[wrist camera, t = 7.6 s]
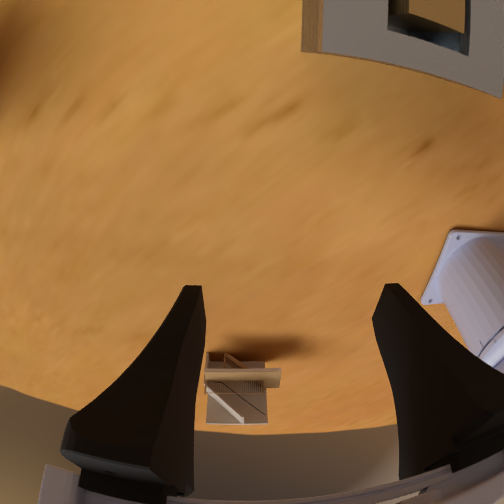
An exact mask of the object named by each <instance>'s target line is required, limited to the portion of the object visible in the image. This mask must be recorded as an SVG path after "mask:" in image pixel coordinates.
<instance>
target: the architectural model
mask: <svg viewBox="0 0 504 504" xmlns="http://www.w3.org/2000/svg"><path fill="white" fill-rule="evenodd" d="M204 373H205V374H204V386H205V392H204V394H206V393H208V402H207V417H206V424H228V425H251V424H268V418H267V398H266V388H279V385H280V378H281V368H265V361H250V362H240V361H238V360H237V359H235V358H234V357H233V356H231V355H230V354H229V353H224V362H217V361H210V356H209V352H206V363H205V369H204Z"/></svg>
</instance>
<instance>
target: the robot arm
mask: <svg viewBox="0 0 504 504" xmlns="http://www.w3.org/2000/svg"><path fill="white" fill-rule="evenodd" d="M458 235H459V236H458ZM457 236H458V237H457ZM421 303H422V304H423V305H427V304H438V303H444V304H445V306H446V307H447V309H448V311H449V313H450V315H451V316H452V318H453V320H454V322H455V324H456V326H457V328H458V330H459V332H460V334H461V336H462V338H463V340H464V342H465V344H466V346H467V348H468V350H467V349H466V348H465V347H464V346H463V345H461V344H460V343H459V342H458V341H456V340H455V339H454V338H453V337H452V336H451V335H450V334H449V333H448V332H447V331H446V330H444V329H443V328H442V327H441V326H440V325H439V324H438V323H437V322H436V321H435V320H434V319H433V318H432V317H431V316H430V315H429V314H428V313H427V312H426V311H425V310H424V309H423V308H422V307H421V306H420V305H419V303H418V302H417V301H416V300H415V299H414V298H413V297H412V296H411V295H410V294H409V293H408V292H407V291H406V290H405V289H404V288H403V287H402V286H401V285H400V284H398V283H391V284H385V286H384V288H383V291H382V294H381V296H380V299H379V302H378V304H377V307H376V309H375V312H374V314H373V317H372V321H373V327H374V332H375V336H376V341H377V344H378V347H379V350H380V353H381V356H382V359H383V362H384V365H385V368H386V371H387V375H388V378H389V381H390V384H391V388H392V392H393V397H394V403H395V409H396V417H397V425H398V436H399V481H396V482H392V483H388V484H384V485H379V486H376V487H371V488H366V489H361V490H356V491H351V492H345V493H339V494H333V495H326V496H318V497H310V498H300V499H289V500H288V499H287V500H270V501H220V500H202V499H191V498H181V497H185V496H188V495H189V494H191V493H192V492H193V491H194V461H193V460H194V420H195V402H196V394H197V388H198V382H199V376H200V370H201V364H202V359H203V353H204V347H205V334H206V317H205V309H204V301H203V293H202V286H197V285H185V286H184V287H183V289H182V291H181V293H180V294H179V296H178V298H177V300H176V302H175V303H174V305H173V307H172V309H171V310H170V312H169V314H168V315H167V317H166V318H165V320H164V321H163V323H162V324H161V326H160V327H159V329H158V330H157V332H156V333H155V335H154V336H153V337H152V339H151V340H150V341H149V343H148V344H147V346H146V347H145V348H144V349H143V351H142V352H141V353H140V354H139V356H138V357H137V358H136V359H135V360H134V361H133V363H132V364H131V365H130V366H129V367H128V368H127V369H126V370H125V371H124V372H123V373H122V374H121V376H120V377H119V378H118V379H117V380H116V381H115V382H113V383H112V384H111V385H110V386H109V387H108V388H107V389H106V390H105V391H103V392H102V393H101V394H100V395H99V396H98V397H97V398H96V399H94V400H93V401H92V402H91V403H89V404H88V405H87V406H85V407H84V408H83V409H81V410H80V411H78V412H77V413H76V414H74V415H73V416H72V417H70V419H69V421H68V424H67V426H66V429H65V432H64V436H63V440H62V444H61V448H60V452H61V454H62V455H63V456H64V457H65V458H66V459H68V460H69V461H71V462H73V463H74V464H76V465H77V466H79V467H80V468H82V470H81V474H80V475H79V474H77V473H75V472H71V471H69V470H66V469H63V468H60V467H57V466H54V465H51V464H48V463H47V464H46V466H45V470H44V474H43V479H42V484H41V489H40V494H39V500H38V504H375V503H379V502H383V501H387V500H391V499H394V498H398V497H401V496H405V495H408V494H411V493H414V492H418V491H420V492H419V494H418V496H415V497H412V498H409V499H406V500H403V501H401V502H399V503H396V504H493V503H495V502H496V501H498V500H499V499H501V498H502V497H504V232H489V231H472V230H452V231H450V232H449V234H448V237H447V239H446V242H445V244H444V247H443V249H442V252H441V254H440V257H439V259H438V262H437V264H436V267H435V269H434V271H433V274H432V276H431V278H430V280H429V283H428V285H427V287H426V289H425V291H424V294H423V296H422V298H421ZM177 496H181V497H177Z"/></svg>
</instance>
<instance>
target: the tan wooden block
mask: <svg viewBox="0 0 504 504" xmlns="http://www.w3.org/2000/svg"><path fill="white" fill-rule="evenodd" d="M387 25H391V26H395V27H399V28H402V29H406V30H409V31H412V32H444V33H461V34H464V27H465V0H388V24H387Z"/></svg>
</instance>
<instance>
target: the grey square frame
mask: <svg viewBox="0 0 504 504" xmlns="http://www.w3.org/2000/svg"><path fill="white" fill-rule="evenodd" d="M387 24H388V0H303V11H302V41H301V52H309V53H319V54H328V55H335V56H343V57H349V58H355V59H361V60H367V61H372V62H377V63H382V64H387V65H392V66H396V67H400V68H404V69H408V70H412V71H416V72H420V73H424V74H427V75H431V76H434V77H437V78H441V79H444V80H447V81H450V82H453V83H457V84H460V85H463V86H466V87H469V88H472V89H475V90H478V91H481V92H484V93H487V94H489V95H492V96H495V97H497V98H500V99H501V98H502V91H503V84H504V0H465V27H464V34H461V33H444V32H412V31H409V30H406V29H402V28H399V27H395V26H391V25H387Z"/></svg>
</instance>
